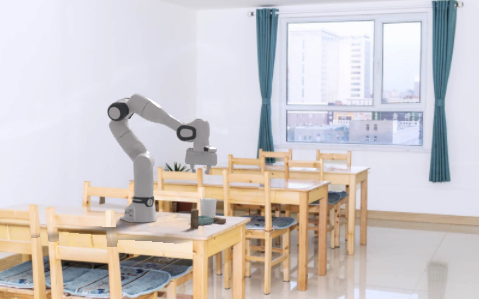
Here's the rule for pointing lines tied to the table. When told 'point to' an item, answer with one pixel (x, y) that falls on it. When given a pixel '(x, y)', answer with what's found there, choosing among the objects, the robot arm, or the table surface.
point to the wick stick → (194, 218)
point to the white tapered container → (208, 206)
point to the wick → (219, 220)
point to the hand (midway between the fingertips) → (200, 173)
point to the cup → (205, 220)
